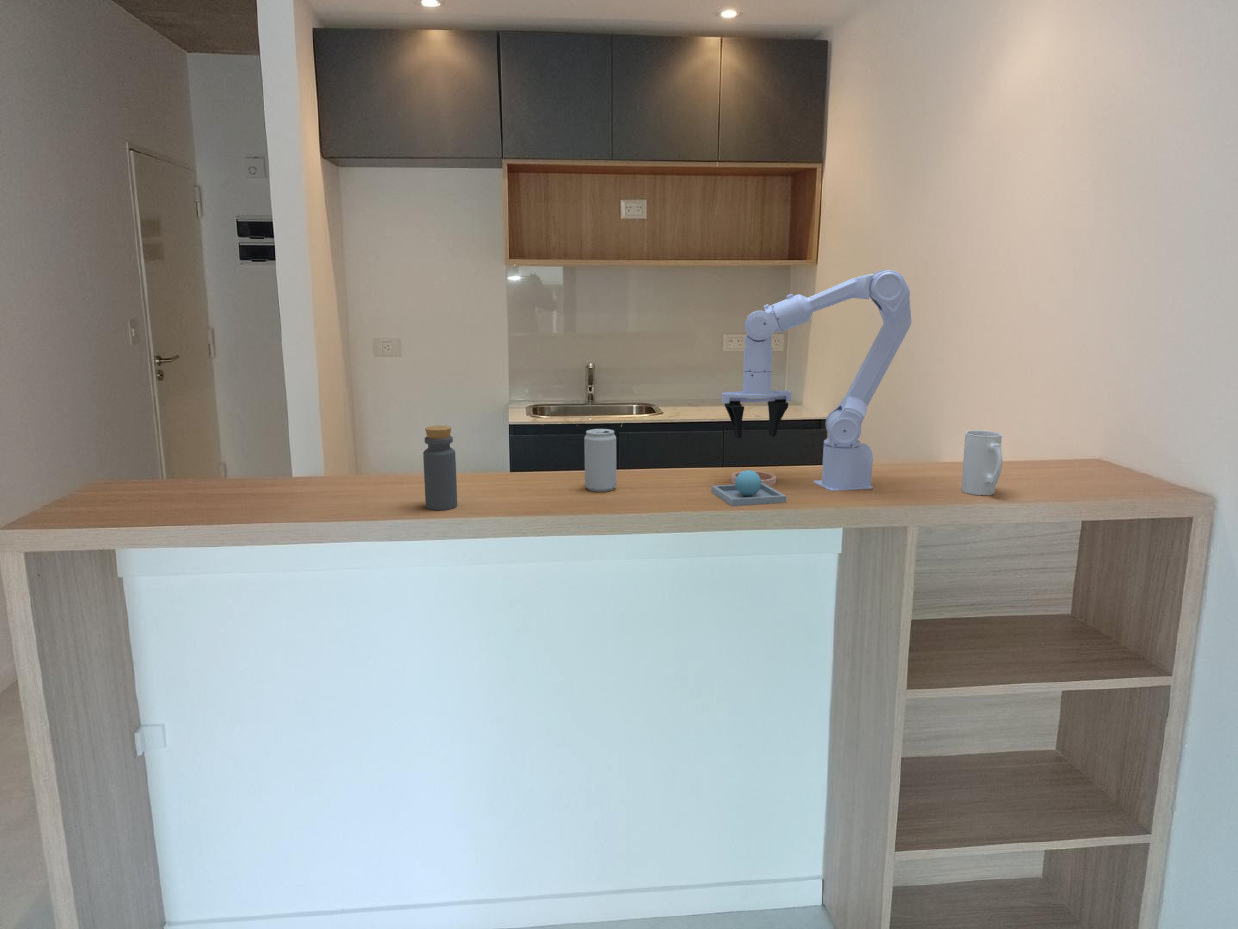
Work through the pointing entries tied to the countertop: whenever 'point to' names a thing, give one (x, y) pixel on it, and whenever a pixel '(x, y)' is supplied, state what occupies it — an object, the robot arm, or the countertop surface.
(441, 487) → the bottle
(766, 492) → the tray
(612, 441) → the beverage can
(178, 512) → the countertop surface
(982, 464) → the mug
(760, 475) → the dish
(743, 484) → the ball
